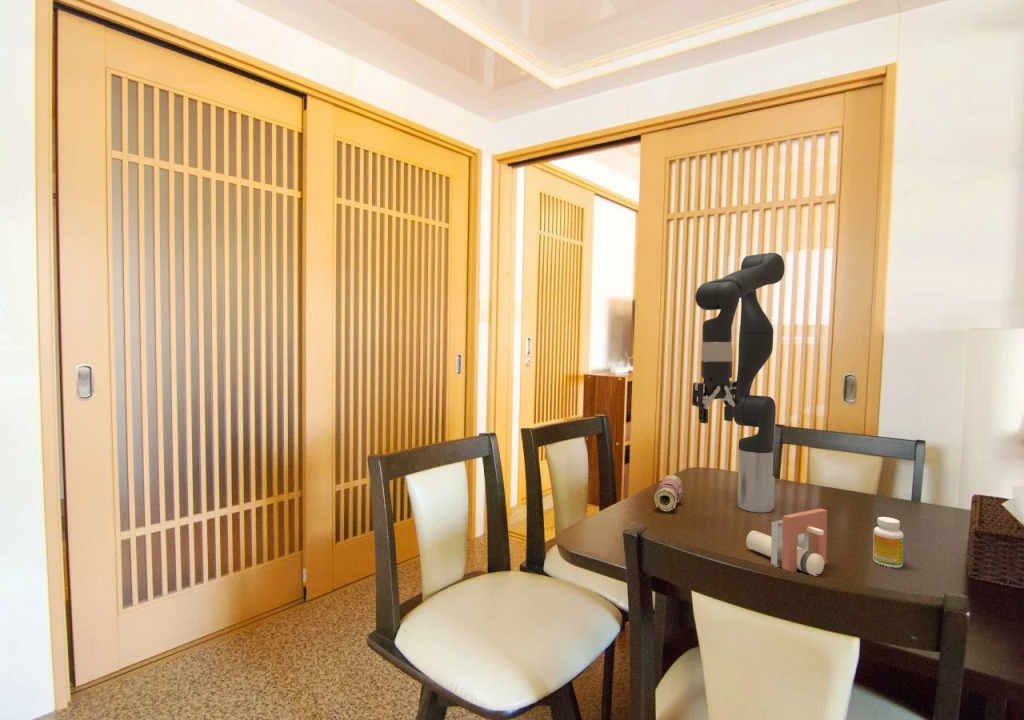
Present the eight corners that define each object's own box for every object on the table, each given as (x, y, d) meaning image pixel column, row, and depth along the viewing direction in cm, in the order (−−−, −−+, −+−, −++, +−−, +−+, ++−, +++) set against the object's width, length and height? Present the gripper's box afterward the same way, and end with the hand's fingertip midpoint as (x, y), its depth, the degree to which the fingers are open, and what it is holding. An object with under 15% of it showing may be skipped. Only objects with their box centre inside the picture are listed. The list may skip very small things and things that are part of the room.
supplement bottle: (904, 570, 112) (905, 525, 111) (873, 565, 114) (874, 520, 114) (901, 561, 116) (902, 518, 116) (872, 556, 119) (873, 514, 119)
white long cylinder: (751, 553, 123) (743, 540, 122) (762, 539, 125) (754, 525, 123) (815, 581, 109) (806, 566, 107) (827, 564, 110) (818, 549, 109)
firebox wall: (819, 561, 116) (820, 508, 116) (839, 569, 112) (840, 514, 112) (782, 571, 111) (782, 515, 111) (801, 580, 107) (802, 522, 106)
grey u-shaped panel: (802, 556, 119) (802, 515, 118) (808, 559, 117) (808, 517, 117) (771, 564, 115) (771, 521, 114) (777, 567, 113) (777, 523, 113)
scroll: (683, 511, 147) (691, 492, 165) (672, 485, 148) (681, 470, 167) (658, 519, 150) (668, 500, 168) (647, 494, 151) (658, 478, 170)
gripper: (725, 359, 142) (724, 418, 142) (685, 359, 136) (684, 421, 136) (748, 359, 135) (747, 422, 136) (707, 360, 129) (706, 425, 130)
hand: (716, 422), depth 136 cm, fingers open, 8 cm apart
